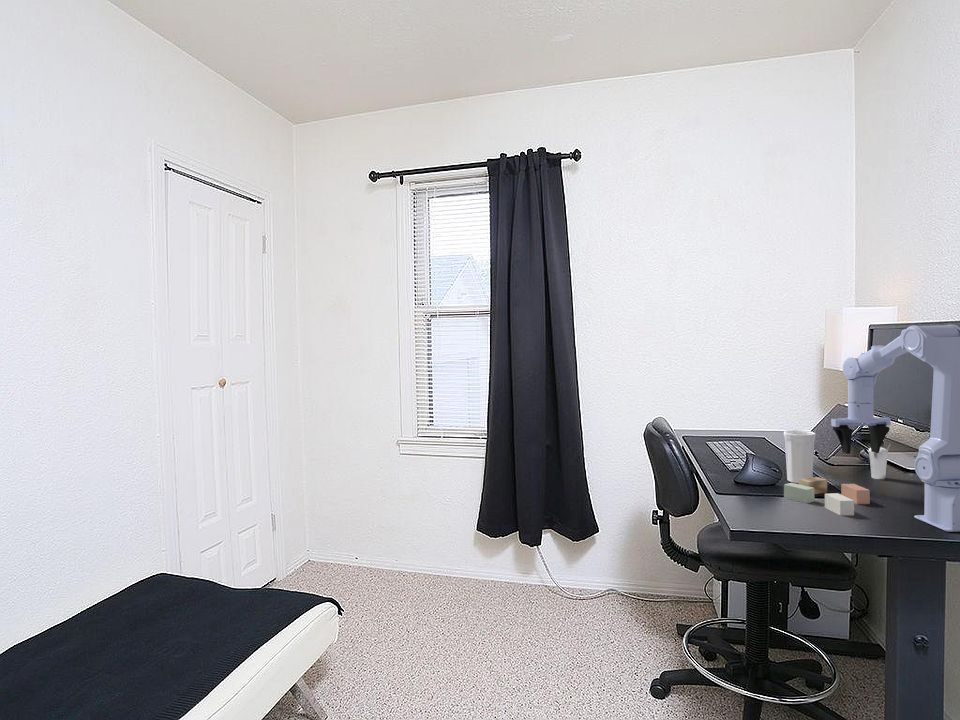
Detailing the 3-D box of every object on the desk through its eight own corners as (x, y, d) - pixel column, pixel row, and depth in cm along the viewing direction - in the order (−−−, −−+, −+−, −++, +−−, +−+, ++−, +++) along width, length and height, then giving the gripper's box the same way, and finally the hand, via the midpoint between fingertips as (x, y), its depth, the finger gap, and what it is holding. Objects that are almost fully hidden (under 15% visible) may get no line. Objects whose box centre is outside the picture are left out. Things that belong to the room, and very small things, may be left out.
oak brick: (817, 490, 152) (817, 477, 152) (827, 493, 149) (827, 479, 148) (798, 492, 150) (798, 479, 150) (808, 495, 147) (808, 481, 147)
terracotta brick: (869, 504, 138) (869, 490, 138) (856, 504, 138) (856, 490, 138) (853, 497, 144) (853, 483, 144) (841, 497, 144) (841, 483, 144)
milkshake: (894, 480, 158) (894, 445, 158) (873, 480, 159) (873, 445, 159) (886, 476, 163) (886, 442, 162) (865, 475, 164) (865, 442, 163)
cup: (786, 485, 157) (786, 434, 156) (781, 477, 164) (780, 429, 164) (819, 486, 154) (819, 435, 154) (812, 479, 162) (812, 430, 161)
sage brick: (814, 501, 142) (814, 487, 142) (807, 504, 140) (806, 489, 140) (791, 496, 147) (791, 482, 147) (784, 498, 145) (783, 484, 145)
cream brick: (854, 515, 130) (854, 500, 130) (840, 516, 130) (840, 500, 130) (837, 507, 136) (837, 493, 136) (824, 508, 136) (824, 493, 136)
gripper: (877, 399, 153) (877, 448, 154) (824, 401, 154) (824, 450, 154) (896, 403, 146) (896, 454, 147) (840, 404, 147) (840, 455, 147)
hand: (860, 452), depth 150 cm, fingers open, 7 cm apart
